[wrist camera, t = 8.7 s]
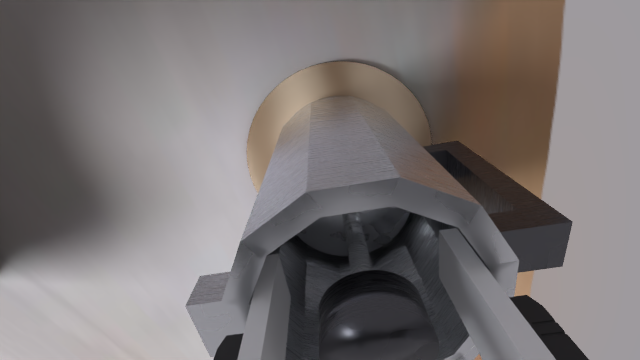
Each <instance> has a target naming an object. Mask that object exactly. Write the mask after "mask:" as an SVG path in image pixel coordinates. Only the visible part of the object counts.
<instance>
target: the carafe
mask: <svg viewBox="0 0 640 360" xmlns="http://www.w3.org/2000/svg"><path fill="white" fill-rule="evenodd" d="M392 206H395V207H398V208H401V209H404V210H407V211H410V213H409V216H408V218H407V220H406V222H405V224H404V226H403V227H402V229H401V230H400V231H399V232H398V233H397V235H396V236H395V237H394V238H392V239H391V240H390V241H389V242H387V243H386V244H385V245H383V246H381V247H379V248H378V249H375V250H373V251H371V252H369V256H370V260H371V264H372V268H373V270H382V271H388V272H393V273H396V274H398V275H401V276H403V277H405V278H406V279H408V280H409V281H410V282H411V283H412V284H414V286H415V287H416V288H417V290H418V292H419V293H420V296H421V298H422V301H423V303H424V305H425V308H426V310H427V313H428V315H429V318H430V320H431V322H432V325H433V327H434V330H435V332H436V334H437V337H438V340H439V353H438V357H437V359H436V360H474V359H475V358H476V356H477V355H478V354H479V352H478V350H477V348H476V346H475V344H474V342H473V341H472V339H471V337H470V335H469V333H468V331H467V329H466V327H465V325H464V323H463V322H462V320H461V318H460V316H459V314H458V312H457V310H456V308H455V306H454V304H453V303H452V301H451V299H450V297H449V295H448V293H447V291H446V289H445V287H444V285H443V284H442V282H441V280H440V278H439V230H446V229H453V228H457V229H458V231H459V232H460V233H461V235H462V236H463V237H464V239H465V240H466V241H467V243H468V244H469V245H470V247H471V248H472V249H473V251H474V252H475V253H476V254H477V256H478V257H479V258H480V260H481V261H482V262H483V264H484V265H485V266H486V268H487V269H488V270H489V272H490V273H491V274H492V276H493V277H494V278H495V280H496V281H497V282H498V284H499V285H500V286H501V288H502V289H503V290H504V291H505V293H506V294H507V295H508V297H514V293H515V286H516V279H517V273H518V272H525V271H532V270H539V269H547V268H553V267H561V266H562V265H563V262H564V257H565V253H566V248H567V243H568V240H569V235H570V231H571V226H572V221H571V220H569V219H568V218H566V217H565V216H564V215H562V214H561V213H559V212H558V211H556V210H555V209H554V208H552V207H551V206H549V205H548V204H546V203H545V202H544V201H542V200H541V199H539V198H538V197H537V196H535V195H534V194H532V193H531V192H530V191H528V190H527V189H525V188H524V187H522V186H521V185H520V184H518V183H517V182H515V181H514V180H513V179H511V178H510V177H508V176H507V175H505V174H504V173H503V172H501V171H500V170H498V169H497V168H496V167H494V166H493V165H491V164H490V163H488V162H487V161H486V160H484V159H483V158H481V157H480V156H479V155H477V154H476V153H474V152H473V151H471V150H470V149H469V148H467V147H466V146H464V145H463V144H462V143H460V142H459V141H454V142H448V143H442V144H435V145H429V146H423V147H422V146H421V145H420V144H419V143H418V142H417V141H416V140H415V139H414V138H413V137H412V136H411V135H410V134H409V133H408V132H407V131H406V130H405V129H404V128H403V127H402V126H401V125H400V124H399V123H398V122H397V121H396V120H395V119H394V118H393V117H392V116H391V115H390V114H389V113H388V112H387V111H386V110H385V109H383V108H381V107H378V106H376V105H374V104H373V103H371V102H369V101H366V100H364V99H361V98H357V97H352V96H350V95H349V96H330V97H325V98H321V99H319V100H316V101H313V102H311V103H310V104H308V105H306V106H304V107H303V108H302V109H300V110H299V111H298V112H296V113H295V114H294V115H293V116H292V117H291V119H290V120H289V121H288V122H287V123H286V124H285V125H284V126H283V127H282V130H281V133H280V135H279V138H278V141H277V144H276V146H275V149H274V152H273V154H272V157H271V160H270V163H269V165H268V168H267V171H266V173H265V176H264V179H263V182H262V184H261V187H260V190H259V192H258V195H257V198H256V201H255V203H254V206H253V209H252V211H251V214H250V217H249V220H248V222H247V225H246V228H245V230H244V233H243V236H242V239H241V241H240V244H239V247H238V251H237V254H236V257H235V260H234V263H233V266H232V269H231V272H225V273H218V274H211V275H204V276H200V277H199V279H198V281H197V283H196V285H195V287H194V289H193V291H192V294H191V296H190V298H189V300H188V302H187V304H186V309H187V311H188V313H189V315H190V317H191V319H192V321H193V323H194V325H195V327H196V329H197V331H198V333H199V335H200V337H201V339H202V341H203V343H204V345H205V347H206V349H207V351H208V353H209V355H210V357H214V356H215V354H216V351H217V348H218V347H219V345H220V344H221V343H222V341H223V340H224V338H225V337H226V335H234V334H242V333H244V330H245V326H246V322H247V317H248V313H249V309H250V305H251V301H252V297H253V293H254V289H255V285H256V283H257V280H258V277H259V275H260V272H261V269H262V267H263V264H264V261H265V259H266V256H268V255H275V254H279V257H280V261H281V264H282V268H283V271H284V275H285V278H286V282H287V286H288V289H289V293H290V296H291V301H290V312H289V323H288V333H287V344H286V355H285V360H319V317H318V310H319V303H320V300H321V298H322V296H323V294H324V293H325V292H326V290H327V289H328V288H329V287H330V286H331V285H332V284H334V283H335V282H336V281H338V280H339V279H341V278H343V277H345V276H347V275H350V274H351V269H350V263H349V257H348V256H338V255H331V254H327V253H324V252H321V251H318V250H316V249H314V248H312V247H311V246H309V245H308V244H306V243H305V242H304V241H303V240H301V239H300V238H299V236H298V235H297V234H298V233H299V232H300V231H302V230H303V229H305V228H306V227H307V226H309V225H310V224H312V223H313V222H314V221H316V220H317V219H319V218H320V217H326V216H333V215H339V214H346V213H352V212H359V211H366V210H372V209H379V208H385V207H392Z"/></svg>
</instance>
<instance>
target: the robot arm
mask: <svg viewBox="0 0 640 360" xmlns="http://www.w3.org/2000/svg"><path fill="white" fill-rule="evenodd" d="M439 278H440V280H441V282H442V284H443V285H444V287H445V289H446V291H447V293H448V295H449V297H450V299H451V301H452V303H453V304H454V306H455V308H456V310H457V312H458V314H459V316H460V318H461V320H462V322H463V323H464V325H465V327H466V329H467V331H468V333H469V335H470V337H471V339H472V341H473V342H474V344H475V346H476V348H477V350H478V352H479V354H480V356H481V358H482V360H589V359H588V358H587V357H586V356H585V355H584V353H583V352H582V351H581V350H580V349H579V348H578V347H577V345H576V344H575V343H574V342H573V341H572V340H571V338H570V337H569V336H568V335H567V334H565V332H564V330H563V329H562V328H561V327H560V326H559V324H558V323H556V322H555V320H554V319H553V318H552V316H551V315H550V314H549V313H548V312H547V310H546V309H545V308H544V307H543V306H542V305H540V304H539V303H538V302H536V301H535V300H533V299H532V298H530V297H529V296H527V295H523V296H516V297H508V295H507V294H506V293H505V291H504V290H503V289H502V288H501V286H500V285H499V284H498V282H497V281H496V280H495V278H494V277H493V276H492V274H491V273H490V272H489V270H488V269H487V268H486V266H485V265H484V264H483V262H482V261H481V260H480V258H479V257H478V256H477V254H476V253H475V252H474V251H473V249H472V248H471V247H470V245H469V244H468V243H467V241H466V240H465V239H464V237H463V236H462V235H461V233H460V232H459V231H458V229H457V228H453V229H446V230H439ZM290 301H291V296H290V293H289V289H288V286H287V282H286V278H285V275H284V271H283V268H282V264H281V261H280V257H279V254H275V255H268V256H266V259H265V261H264V264H263V267H262V269H261V272H260V275H259V277H258V280H257V283H256V285H255V289H254V293H253V297H252V301H251V305H250V309H249V313H248V317H247V322H246V326H245V330H244V333H242V334H234V335H226V337H225V338H224V340H223V341H222V343H221V344H220V345H219V347H218V348H217V351H216V354H215V357H214V360H285V355H286V344H287V333H288V323H289V312H290Z"/></svg>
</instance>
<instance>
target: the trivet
mask: <svg viewBox="0 0 640 360" xmlns="http://www.w3.org/2000/svg"><path fill="white" fill-rule="evenodd" d="M349 95H350V96H352V97H357V98H361V99H364V100H366V101H369V102H371V103H373V104H374V105H376V106H378V107H381V108H383V109H385V110H386V111H387V112H388V113H389V114H390V115H391V116H392V117H393V118H394V119H395V120H396V121H397V122H398V123H399V124H400V125H401V126H402V127H403V128H404V129H405V130H406V131H407V132H408V133H409V134H410V135H411V136H412V137H413V138H414V139H415V140H416V141H417V142H418V143H419V144H420V145H421V146H422V147H423V146H429V145H432V144H431V133H430V128H429V124H428V121H427V118H426V116H425V113H424V111H423V109H422V107H421V105H420V104H419V102H418V100H417V99H416V98H415V96H414V95H413V94H412V93H411V91H410V90H409V89H408V88H407V87H406V86H405V85H403V84H402V83H401V82H400V81H399V80H397V79H396V78H394V77H393V76H391V75H390V74H388V73H386V72H384V71H382V70H380V69H378V68H375V67H372V66H369V65H366V64H362V63H356V62H346V61H335V62H326V63H321V64H317V65H313V66H310V67H308V68H305V69H303V70H300V71H298V72H297V73H295V74H293V75H291V76H290V77H288V78H287V79H285V80H284V81H283V82H281V83H280V84H279V85H278V86H277V87H276V88H275V89H274V90H273V91H272V92H271V93H270V94H269V95H268V96H267V97H266V99H265V100H264V102H263V103H262V104H261V106H260V107H259V109H258V111H257V113H256V115H255V117H254V119H253V122H252V125H251V127H250V131H249V136H248V141H247V162H248V168H249V172H250V176H251V179H252V181H253V184H254V186H255V188H256V190H257V192H259V190H260V187H261V184H262V182H263V179H264V176H265V173H266V171H267V168H268V165H269V163H270V160H271V157H272V154H273V152H274V149H275V146H276V144H277V141H278V138H279V135H280V133H281V130H282V127H283V126H284V125H285V124H286V123H287V122H288V121H289V120H290V119H291V117H292V116H293V115H294V114H295V113H296V112H298V111H299V110H300V109H302V108H303V107H304V106H306V105H308V104H310V103H311V102H313V101H316V100H319V99H321V98H325V97H330V96H349Z"/></svg>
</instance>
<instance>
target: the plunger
mask: <svg viewBox="0 0 640 360" xmlns="http://www.w3.org/2000/svg"><path fill="white" fill-rule="evenodd" d="M409 213H410V211H407V210H404V209H401V208H398V207H395V206H392V207H385V208H379V209H372V210H366V211H359V212H352V213H346V214H339V215H333V216H326V217H320V218H319V219H317V220H316V221H314V222H313V223H312V224H310V225H309V226H307V227H306V228H305V229H303V230H302V231H300V232H299V233H298V234H297V235H298V236H299V238H300V239H301V240H303V241H304V242H305V243H306V244H308V245H309V246H311V247H312V248H314V249H316V250H318V251H321V252H324V253H327V254H331V255H338V256H348V257H349V263H350V269H351V274H350V275H347V276H345V277H343V278H341V279H339V280H338V281H336V282H335V283H334V284H332V285H331V286H330V287H329V288H328V289H327V290H326V292H325V293H324V294H323V296H322V298H321V300H320V303H319V310H318V317H319V360H436V359H437V357H438V353H439V340H438V337H437V334H436V332H435V330H434V327H433V325H432V322H431V320H430V318H429V315H428V313H427V310H426V308H425V305H424V303H423V301H422V298H421V296H420V293H419V292H418V290H417V288H416V287H415V286H414V284H412V283H411V282H410V281H409V280H408V279H406V278H405V277H403V276H401V275H398V274H396V273H393V272H388V271H382V270H373V268H372V264H371V260H370V256H369V252H371V251H373V250H375V249H378V248H379V247H381V246H383V245H385V244H386V243H387V242H389V241H390V240H391V239H392V238H394V237H395V236H396V235H397V233H398V232H399V231H400V230H401V229H402V227H403V226H404V224H405V222H406V220H407V218H408V216H409Z"/></svg>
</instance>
